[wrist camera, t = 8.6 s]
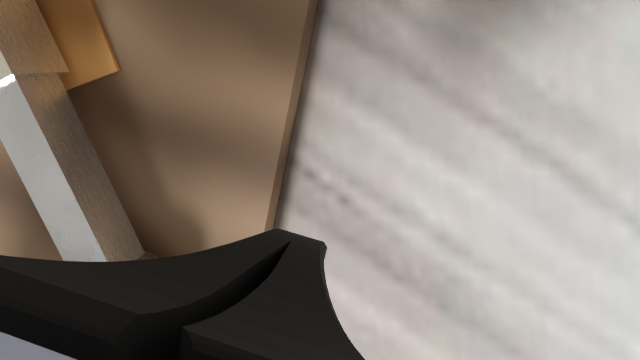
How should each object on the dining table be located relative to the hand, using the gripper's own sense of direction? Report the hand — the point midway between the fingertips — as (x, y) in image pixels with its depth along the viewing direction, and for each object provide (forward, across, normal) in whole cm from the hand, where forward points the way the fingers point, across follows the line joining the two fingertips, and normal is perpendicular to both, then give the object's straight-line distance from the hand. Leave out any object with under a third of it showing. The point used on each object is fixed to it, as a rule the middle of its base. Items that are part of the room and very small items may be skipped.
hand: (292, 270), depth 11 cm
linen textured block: (+7, +12, +1) cm, 14 cm away
